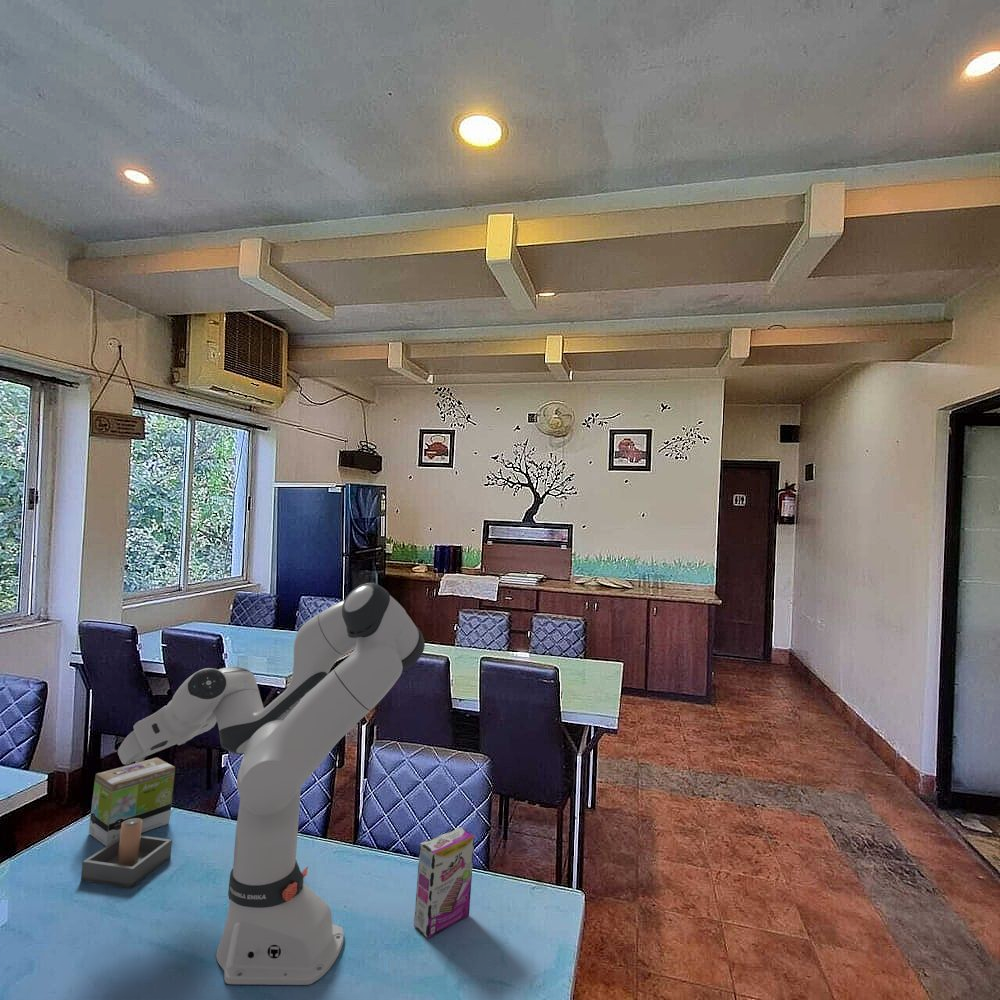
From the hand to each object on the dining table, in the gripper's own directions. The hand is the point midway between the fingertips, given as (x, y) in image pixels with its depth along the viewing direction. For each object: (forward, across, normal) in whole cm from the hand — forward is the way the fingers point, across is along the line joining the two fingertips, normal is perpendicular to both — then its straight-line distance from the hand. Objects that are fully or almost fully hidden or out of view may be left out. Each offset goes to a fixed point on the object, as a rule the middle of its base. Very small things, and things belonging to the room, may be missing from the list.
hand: (159, 750), depth 133 cm
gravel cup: (+17, +8, +16) cm, 25 cm away
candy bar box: (-29, -20, +66) cm, 75 cm away
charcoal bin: (+17, +8, +17) cm, 26 cm away
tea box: (+31, -1, +6) cm, 32 cm away
